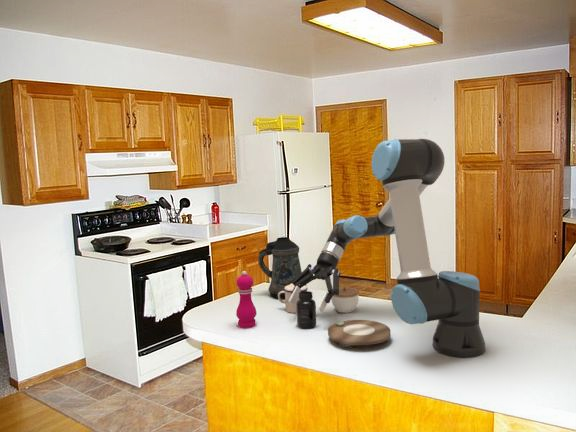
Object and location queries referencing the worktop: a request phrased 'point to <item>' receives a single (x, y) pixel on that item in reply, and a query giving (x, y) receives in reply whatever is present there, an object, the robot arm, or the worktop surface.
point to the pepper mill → (245, 302)
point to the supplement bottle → (306, 310)
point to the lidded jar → (345, 299)
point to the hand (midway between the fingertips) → (305, 306)
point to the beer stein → (281, 265)
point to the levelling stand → (358, 333)
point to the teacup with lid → (288, 294)
